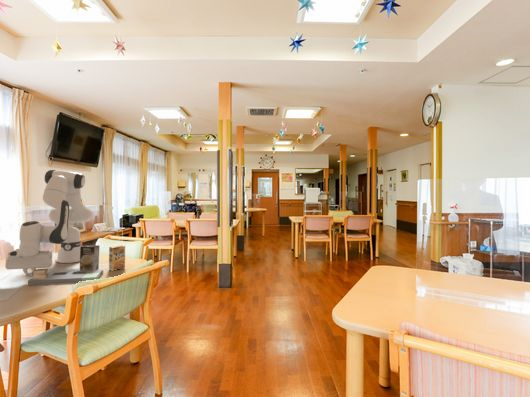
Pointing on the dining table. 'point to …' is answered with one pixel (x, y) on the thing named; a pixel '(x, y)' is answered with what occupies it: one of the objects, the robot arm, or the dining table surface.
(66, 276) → the trap board
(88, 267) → the coffee box
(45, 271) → the maple block
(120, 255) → the candy box
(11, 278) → the dining table surface
